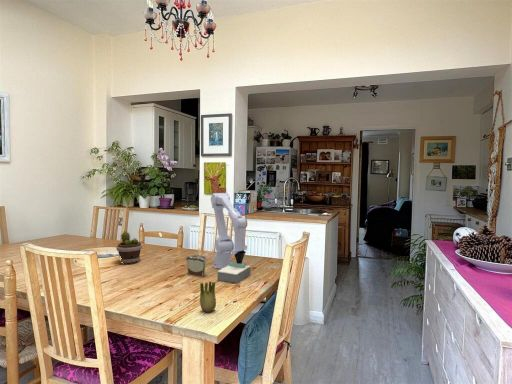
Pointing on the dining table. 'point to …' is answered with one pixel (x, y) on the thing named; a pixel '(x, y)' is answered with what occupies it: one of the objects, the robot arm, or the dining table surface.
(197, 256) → the food container
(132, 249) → the flowerpot
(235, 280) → the grey sliding-lid box
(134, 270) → the dining table surface
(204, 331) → the dining table surface
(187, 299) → the dining table surface
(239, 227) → the robot arm
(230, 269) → the lid
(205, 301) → the fennel bulb
